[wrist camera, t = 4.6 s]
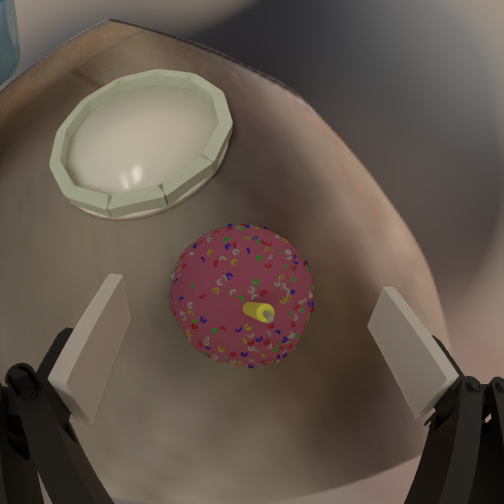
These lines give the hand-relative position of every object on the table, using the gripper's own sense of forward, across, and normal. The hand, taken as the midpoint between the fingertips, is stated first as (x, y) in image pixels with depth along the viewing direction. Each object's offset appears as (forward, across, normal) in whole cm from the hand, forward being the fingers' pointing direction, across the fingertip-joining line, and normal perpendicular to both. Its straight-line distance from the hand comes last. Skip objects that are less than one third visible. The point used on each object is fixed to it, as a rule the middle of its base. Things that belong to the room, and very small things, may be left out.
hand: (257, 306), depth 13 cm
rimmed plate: (+16, -11, +6) cm, 21 cm away
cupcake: (+6, -1, -4) cm, 8 cm away
